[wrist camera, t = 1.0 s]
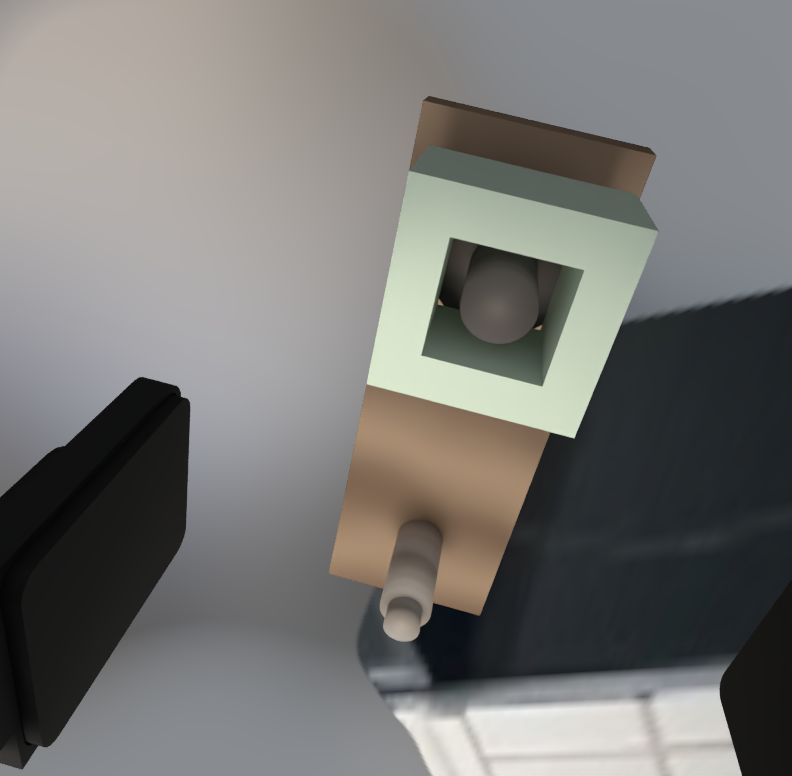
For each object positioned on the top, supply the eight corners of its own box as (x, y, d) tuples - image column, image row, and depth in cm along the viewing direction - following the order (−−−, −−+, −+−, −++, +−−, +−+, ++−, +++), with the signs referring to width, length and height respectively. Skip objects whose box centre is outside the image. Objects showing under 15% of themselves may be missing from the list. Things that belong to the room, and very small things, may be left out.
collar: (567, 375, 23) (574, 438, 20) (390, 330, 23) (366, 384, 20) (636, 194, 20) (658, 231, 16) (429, 144, 20) (409, 171, 17)
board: (481, 593, 35) (469, 734, 28) (336, 553, 35) (289, 682, 28) (649, 147, 23) (700, 202, 16) (428, 95, 24) (387, 127, 17)
